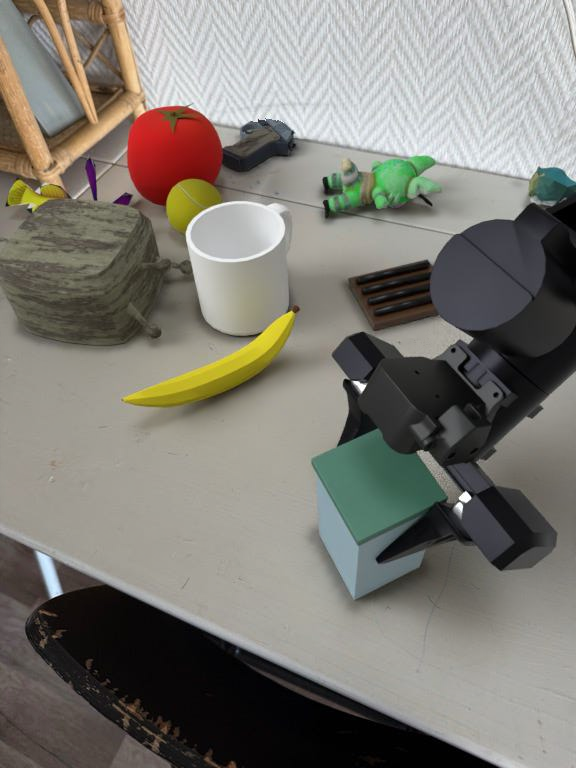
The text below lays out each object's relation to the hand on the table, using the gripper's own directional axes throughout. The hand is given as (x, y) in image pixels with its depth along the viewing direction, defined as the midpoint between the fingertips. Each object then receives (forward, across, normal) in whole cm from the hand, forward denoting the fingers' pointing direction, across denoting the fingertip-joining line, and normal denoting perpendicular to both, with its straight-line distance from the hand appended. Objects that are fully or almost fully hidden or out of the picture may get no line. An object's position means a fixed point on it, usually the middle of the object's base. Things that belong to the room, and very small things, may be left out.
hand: (352, 519), depth 43 cm
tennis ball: (-2, -43, +7) cm, 44 cm away
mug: (0, -32, +10) cm, 33 cm away
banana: (+7, -22, +4) cm, 23 cm away
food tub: (+4, 0, +6) cm, 7 cm away
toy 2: (-12, -44, +19) cm, 50 cm away
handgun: (-6, -64, +14) cm, 65 cm away
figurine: (-33, -27, +40) cm, 59 cm away
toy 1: (+4, -59, -2) cm, 59 cm away
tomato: (0, -56, +10) cm, 57 cm away
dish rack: (-10, -24, +20) cm, 33 cm away
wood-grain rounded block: (+3, -34, +1) cm, 34 cm away
